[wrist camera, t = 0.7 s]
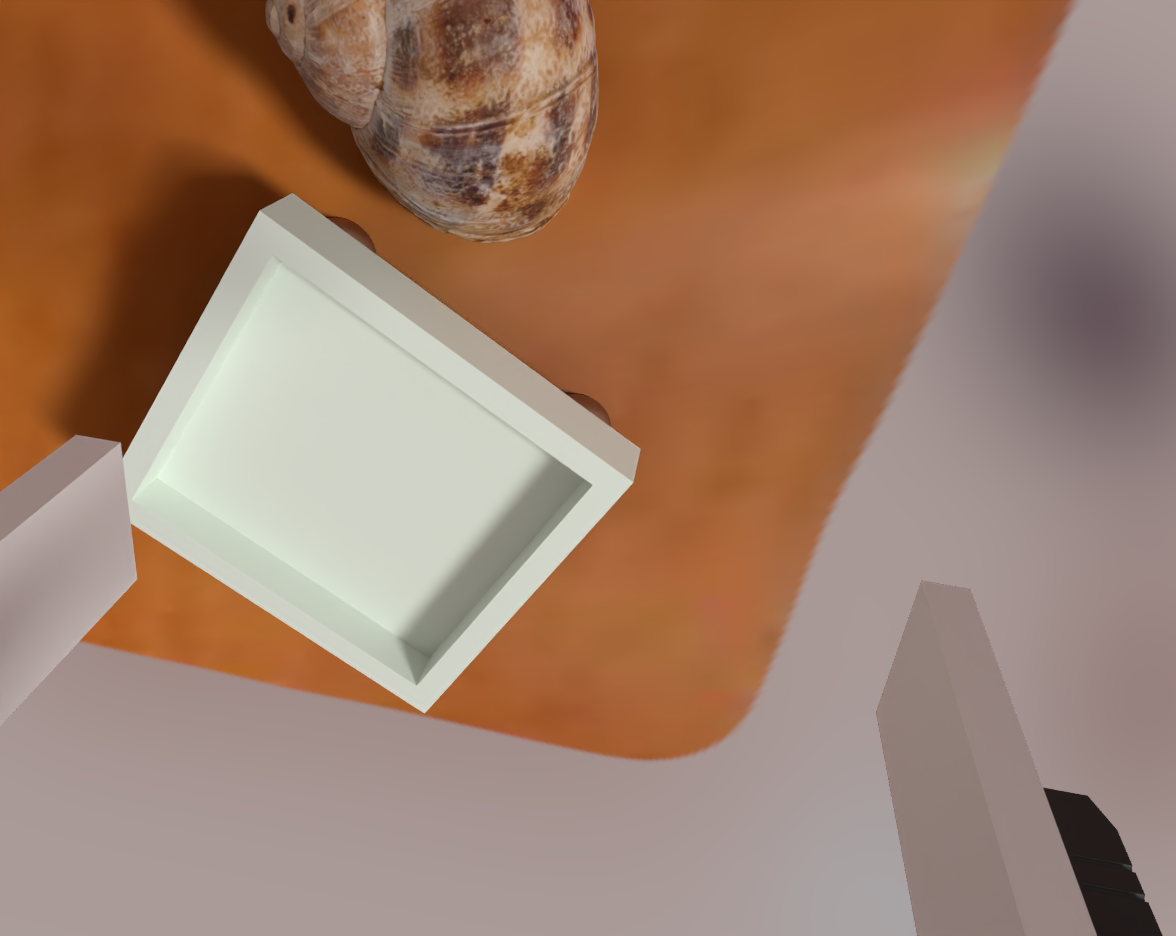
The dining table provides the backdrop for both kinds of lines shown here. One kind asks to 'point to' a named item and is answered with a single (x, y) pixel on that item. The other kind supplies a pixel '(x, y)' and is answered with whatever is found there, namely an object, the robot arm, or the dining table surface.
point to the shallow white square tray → (366, 457)
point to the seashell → (456, 100)
